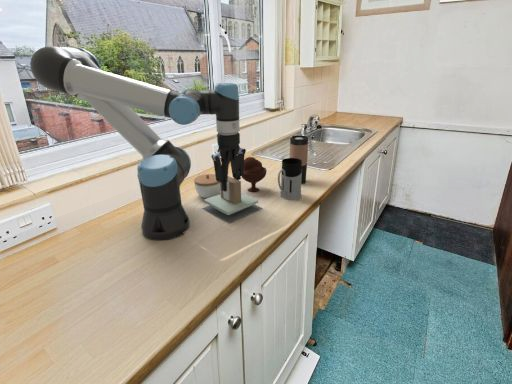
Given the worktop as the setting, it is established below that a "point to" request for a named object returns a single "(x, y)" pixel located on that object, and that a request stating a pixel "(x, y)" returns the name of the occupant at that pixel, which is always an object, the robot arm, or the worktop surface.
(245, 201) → the board
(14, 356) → the worktop surface
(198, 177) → the lidded jar
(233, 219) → the square tray
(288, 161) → the glass holder
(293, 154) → the travel mug
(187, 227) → the robot arm
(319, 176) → the worktop surface
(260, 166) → the ice cream bowl
